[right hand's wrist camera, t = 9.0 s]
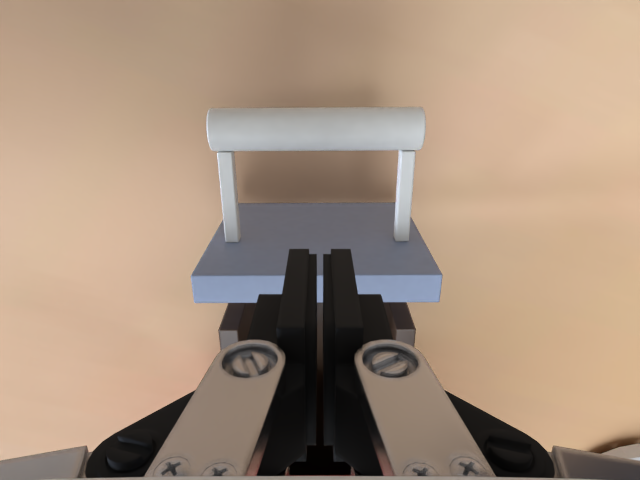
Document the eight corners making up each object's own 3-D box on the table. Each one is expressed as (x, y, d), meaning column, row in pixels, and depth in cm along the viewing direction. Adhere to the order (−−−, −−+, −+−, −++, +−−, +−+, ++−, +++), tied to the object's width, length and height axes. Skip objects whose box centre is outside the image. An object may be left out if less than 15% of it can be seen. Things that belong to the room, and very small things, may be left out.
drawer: (223, 95, 23) (169, 120, 15) (410, 94, 23) (460, 119, 15) (254, 468, 33) (233, 604, 25) (384, 468, 33) (405, 604, 25)
